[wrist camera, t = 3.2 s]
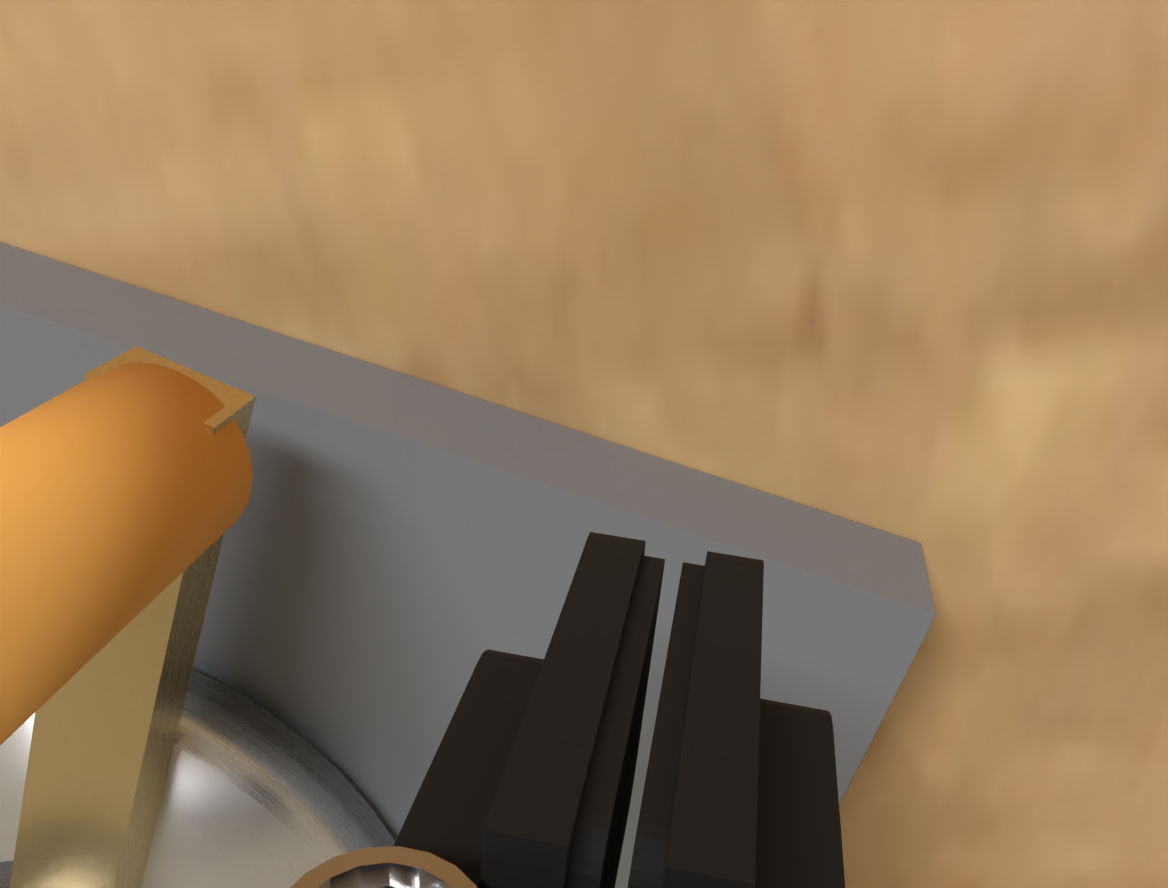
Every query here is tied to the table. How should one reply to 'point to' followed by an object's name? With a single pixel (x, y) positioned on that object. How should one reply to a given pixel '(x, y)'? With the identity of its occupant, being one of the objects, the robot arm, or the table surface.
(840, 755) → the dial base
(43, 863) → the dial
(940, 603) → the table surface
